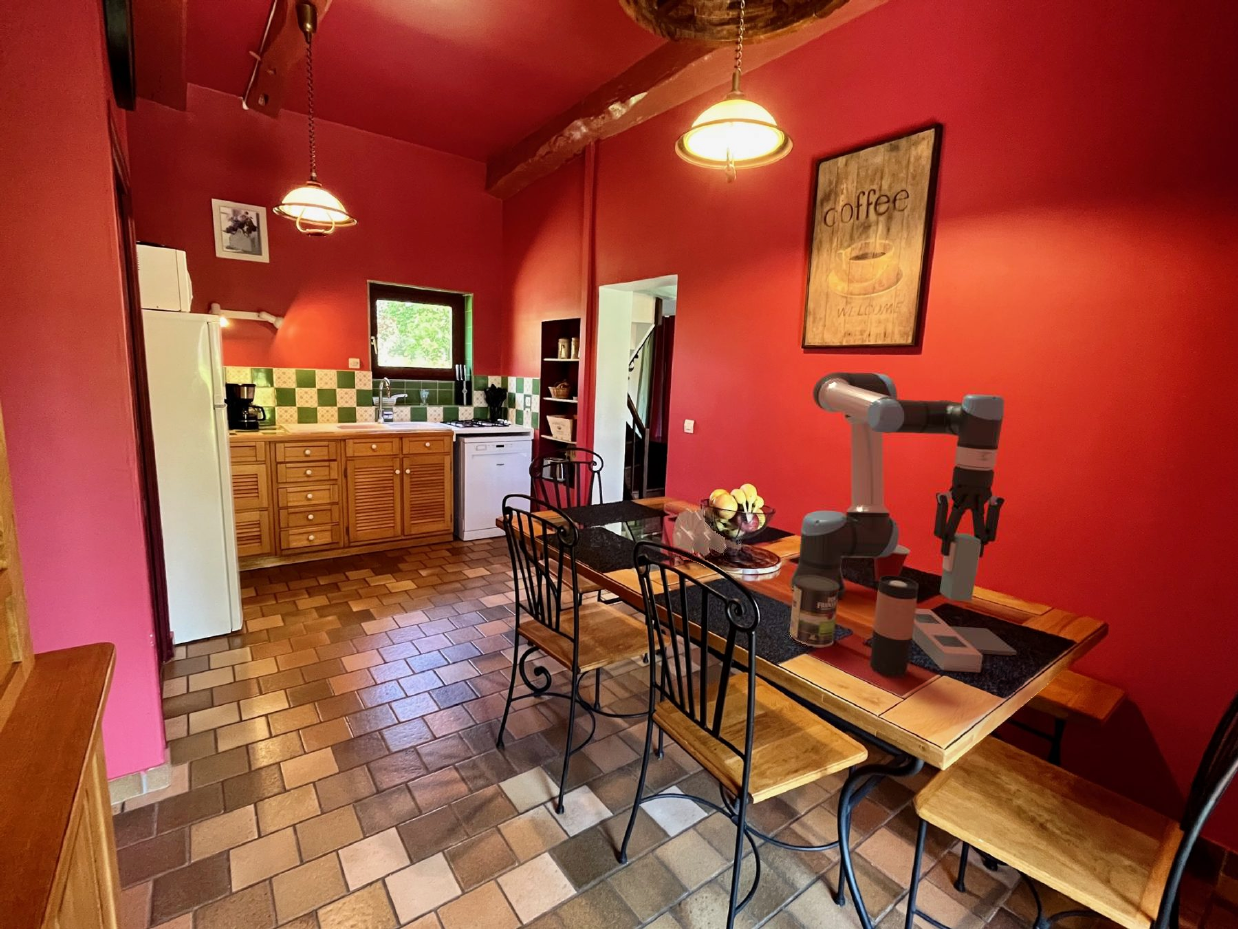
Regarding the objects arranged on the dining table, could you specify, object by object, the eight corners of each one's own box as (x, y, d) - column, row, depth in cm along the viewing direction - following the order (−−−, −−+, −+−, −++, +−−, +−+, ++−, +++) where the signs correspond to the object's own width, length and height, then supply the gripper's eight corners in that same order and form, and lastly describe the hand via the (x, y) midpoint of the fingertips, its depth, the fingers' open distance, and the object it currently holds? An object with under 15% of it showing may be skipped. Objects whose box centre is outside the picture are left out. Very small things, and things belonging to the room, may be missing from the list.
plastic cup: (912, 590, 170) (917, 552, 168) (876, 588, 170) (881, 550, 168) (896, 577, 181) (900, 541, 179) (862, 575, 181) (866, 539, 179)
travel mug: (862, 660, 127) (872, 575, 124) (894, 660, 128) (905, 575, 124) (880, 678, 120) (891, 588, 116) (915, 678, 120) (926, 588, 117)
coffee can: (843, 643, 135) (849, 586, 133) (811, 651, 130) (817, 593, 128) (810, 625, 144) (815, 572, 142) (779, 632, 139) (784, 577, 137)
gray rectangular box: (950, 600, 125) (958, 539, 123) (939, 591, 130) (948, 532, 127) (971, 601, 125) (980, 540, 123) (960, 593, 130) (969, 533, 127)
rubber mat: (962, 652, 132) (963, 648, 132) (937, 629, 144) (938, 625, 144) (1016, 655, 132) (1016, 651, 132) (986, 632, 144) (986, 628, 143)
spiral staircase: (669, 569, 193) (730, 557, 203) (695, 562, 177) (759, 550, 188) (658, 516, 197) (718, 507, 207) (683, 505, 181) (746, 496, 192)
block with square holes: (942, 670, 124) (944, 653, 123) (896, 622, 148) (898, 607, 147) (980, 672, 124) (982, 655, 123) (927, 624, 147) (929, 609, 147)
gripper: (940, 468, 119) (926, 574, 123) (1027, 472, 118) (1010, 578, 122) (923, 462, 127) (911, 562, 131) (1005, 465, 126) (990, 566, 130)
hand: (959, 570), depth 126 cm, fingers closed on gray rectangular box, 5 cm apart
